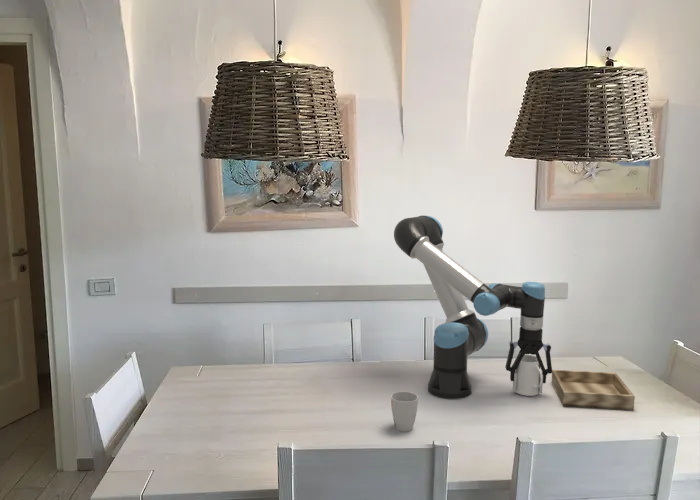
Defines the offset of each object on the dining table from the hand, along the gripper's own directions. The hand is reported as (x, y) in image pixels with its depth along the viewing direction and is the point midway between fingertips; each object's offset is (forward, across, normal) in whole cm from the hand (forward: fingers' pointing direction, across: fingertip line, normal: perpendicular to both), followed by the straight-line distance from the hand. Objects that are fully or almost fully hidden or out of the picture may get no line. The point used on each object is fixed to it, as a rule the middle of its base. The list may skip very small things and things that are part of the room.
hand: (527, 390), depth 211 cm
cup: (+2, -41, -33) cm, 52 cm away
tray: (+1, +21, +2) cm, 22 cm away
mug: (+1, +1, 0) cm, 1 cm away
